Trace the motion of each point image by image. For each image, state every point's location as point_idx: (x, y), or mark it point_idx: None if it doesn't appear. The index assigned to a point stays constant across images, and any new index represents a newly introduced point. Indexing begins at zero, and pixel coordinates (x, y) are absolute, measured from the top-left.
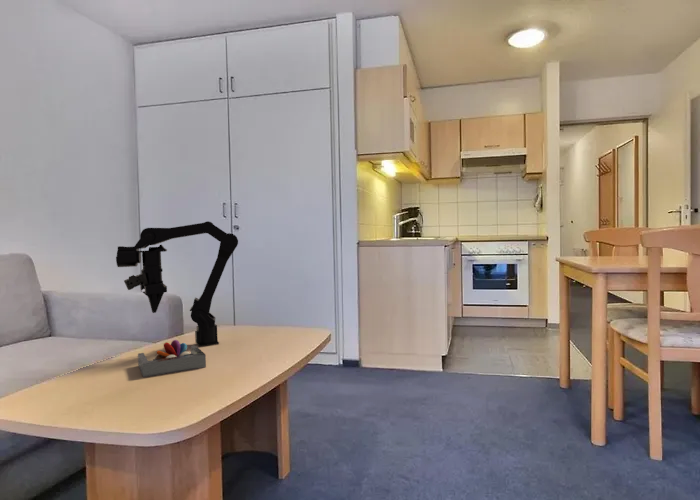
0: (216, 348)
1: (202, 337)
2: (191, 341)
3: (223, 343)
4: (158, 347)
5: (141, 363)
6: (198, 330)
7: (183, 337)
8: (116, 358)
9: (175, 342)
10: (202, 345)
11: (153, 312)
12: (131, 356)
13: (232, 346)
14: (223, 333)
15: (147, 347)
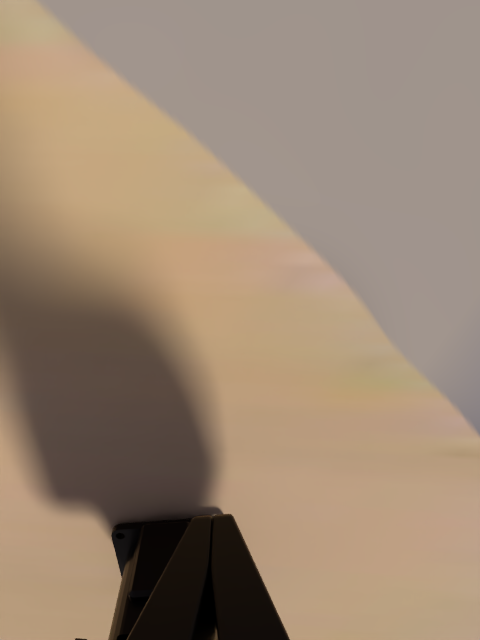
0: (33, 576)
1: (126, 580)
2: (303, 500)
3: None
4: (249, 327)
5: None
6: (124, 612)
7: (467, 473)
8: (6, 8)
9: None
10: (114, 538)
11: (191, 526)
12: (31, 137)
13: (45, 628)
14: (403, 632)
15: (301, 259)
